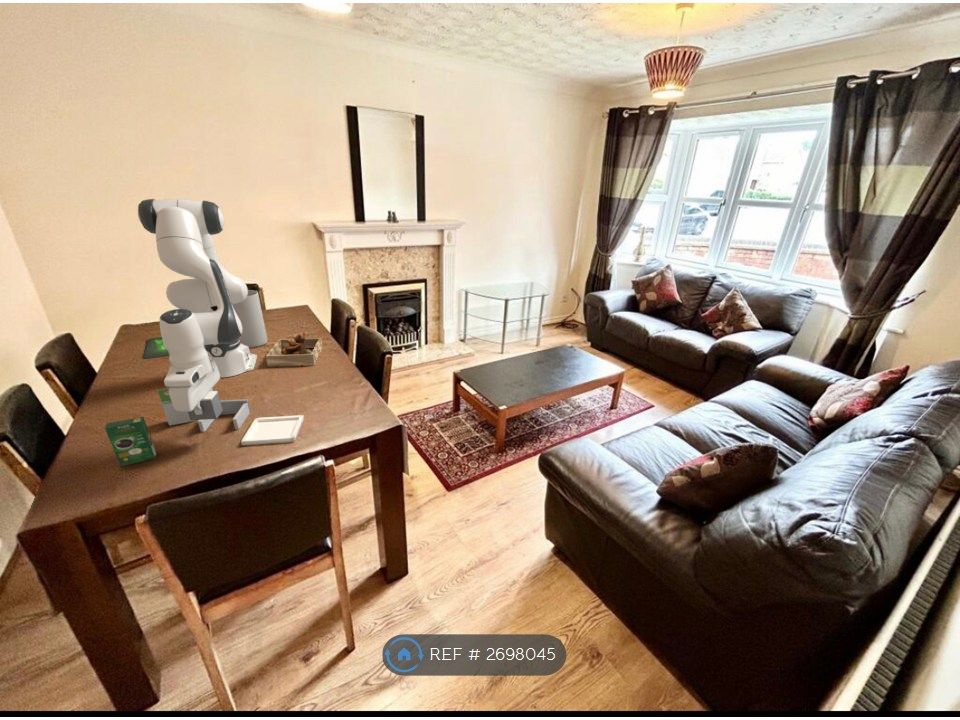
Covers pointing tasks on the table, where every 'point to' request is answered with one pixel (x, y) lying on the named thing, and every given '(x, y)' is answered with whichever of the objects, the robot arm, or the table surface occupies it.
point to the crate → (295, 359)
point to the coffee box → (131, 441)
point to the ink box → (172, 410)
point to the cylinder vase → (251, 320)
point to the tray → (273, 430)
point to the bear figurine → (296, 346)
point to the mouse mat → (155, 348)
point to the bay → (230, 407)
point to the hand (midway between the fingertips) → (204, 407)
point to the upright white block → (208, 407)
